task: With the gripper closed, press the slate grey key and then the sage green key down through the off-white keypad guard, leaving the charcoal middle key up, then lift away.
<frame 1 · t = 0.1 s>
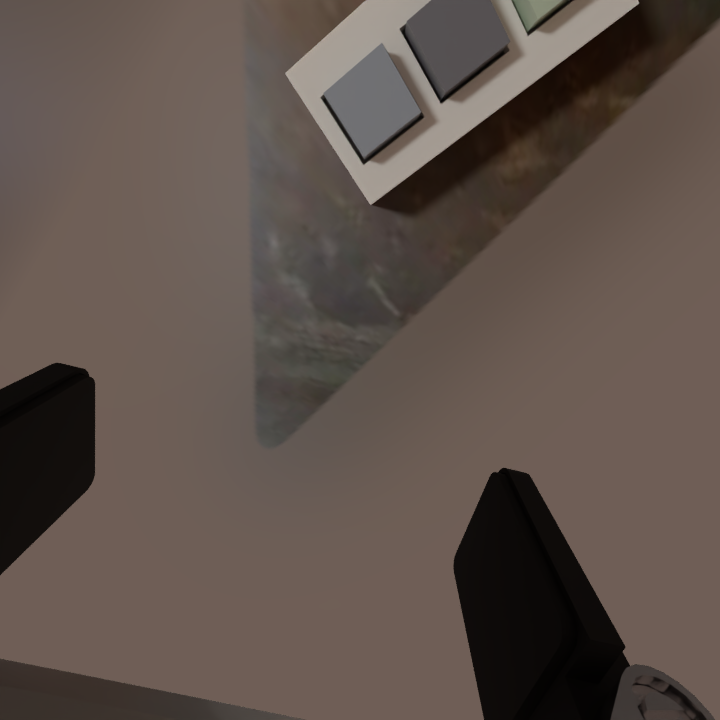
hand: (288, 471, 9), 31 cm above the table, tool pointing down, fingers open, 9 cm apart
keypad: (445, 58, 32), on the table
slate key: (372, 107, 30), point 4 cm above the table, slide at 0.0 cm
charcoal key: (454, 39, 28), point 4 cm above the table, slide at 0.0 cm
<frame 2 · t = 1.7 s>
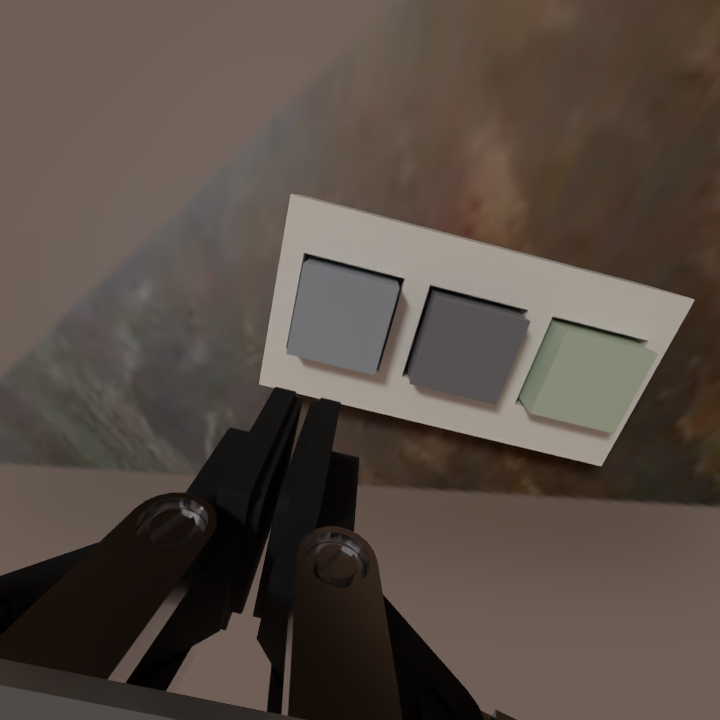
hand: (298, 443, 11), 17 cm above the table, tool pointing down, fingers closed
keypad: (451, 325, 27), on the table
slate key: (343, 314, 23), point 4 cm above the table, slide at 0.0 cm
sage key: (578, 373, 23), point 4 cm above the table, slide at 0.0 cm
charcoal key: (462, 344, 23), point 4 cm above the table, slide at 0.0 cm
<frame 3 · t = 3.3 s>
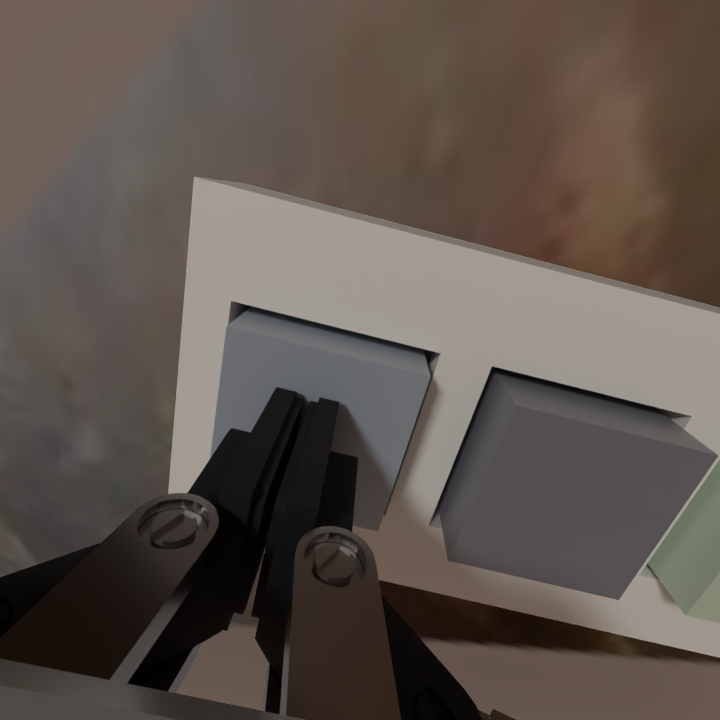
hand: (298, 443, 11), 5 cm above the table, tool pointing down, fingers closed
keypad: (509, 409, 15), on the table
slate key: (318, 410, 12), point 4 cm above the table, slide at 0.5 cm, touching gripper
charcoal key: (549, 475, 12), point 4 cm above the table, slide at 0.0 cm
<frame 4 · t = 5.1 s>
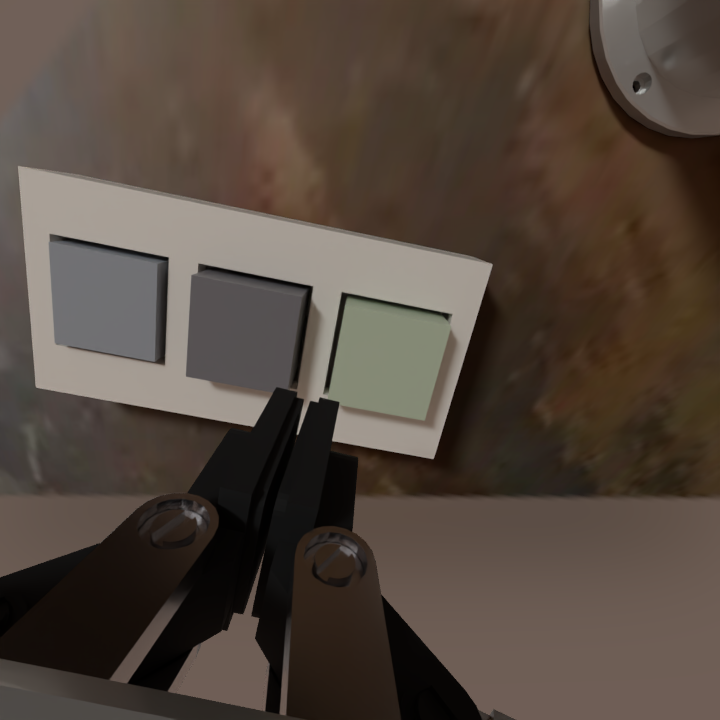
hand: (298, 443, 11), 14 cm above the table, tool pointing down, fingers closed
keypad: (268, 312, 24), on the table
slate key: (121, 298, 21), point 3 cm above the table, slide at 1.0 cm
sage key: (385, 355, 21), point 4 cm above the table, slide at 0.0 cm
charcoal key: (250, 329, 20), point 4 cm above the table, slide at 0.0 cm
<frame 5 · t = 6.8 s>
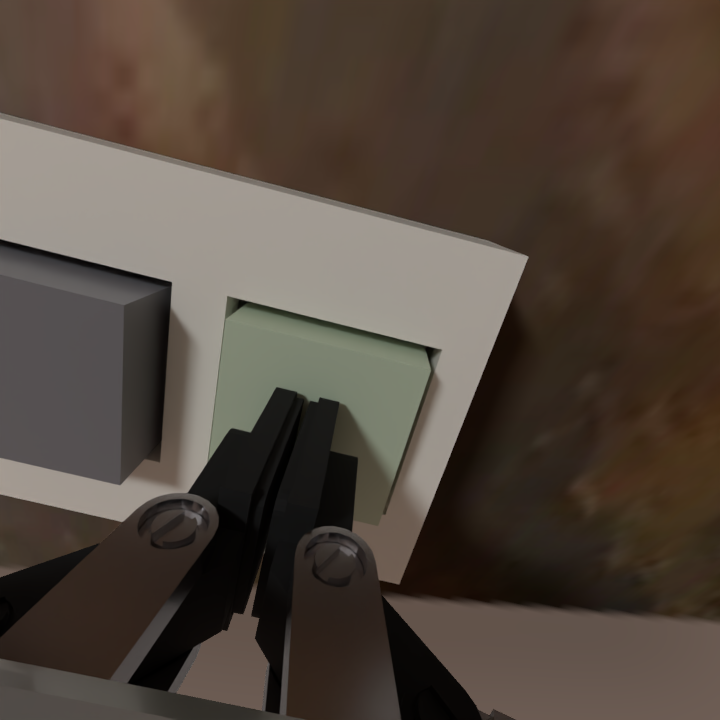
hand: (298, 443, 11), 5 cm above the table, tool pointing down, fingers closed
keypad: (144, 316, 15), on the table
sage key: (318, 405, 12), point 3 cm above the table, slide at 0.7 cm, touching gripper
charcoal key: (63, 356, 11), point 4 cm above the table, slide at 0.0 cm
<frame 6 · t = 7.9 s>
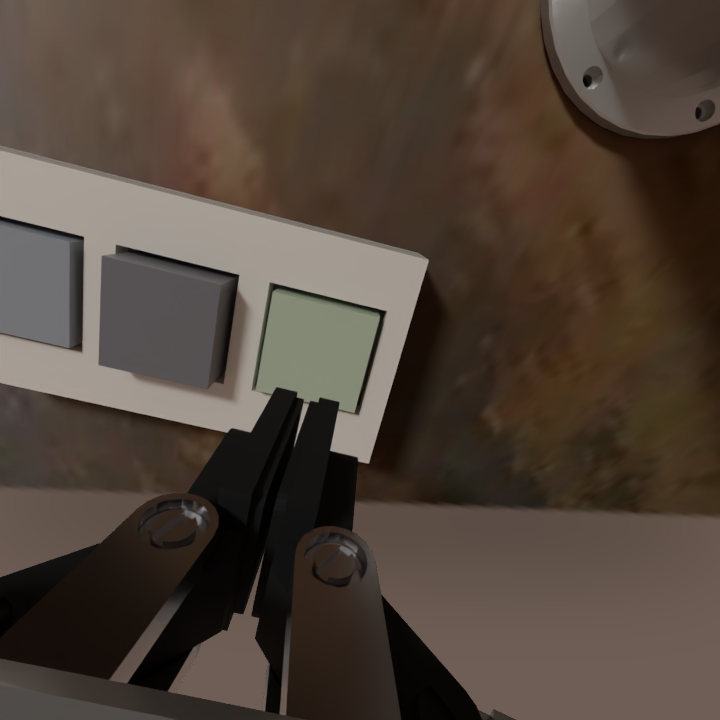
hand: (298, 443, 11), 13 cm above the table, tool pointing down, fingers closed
keypad: (204, 301, 23), on the table
slate key: (38, 279, 20), point 3 cm above the table, slide at 1.0 cm
sage key: (319, 346, 21), point 3 cm above the table, slide at 1.0 cm
charcoal key: (172, 318, 19), point 4 cm above the table, slide at 0.0 cm
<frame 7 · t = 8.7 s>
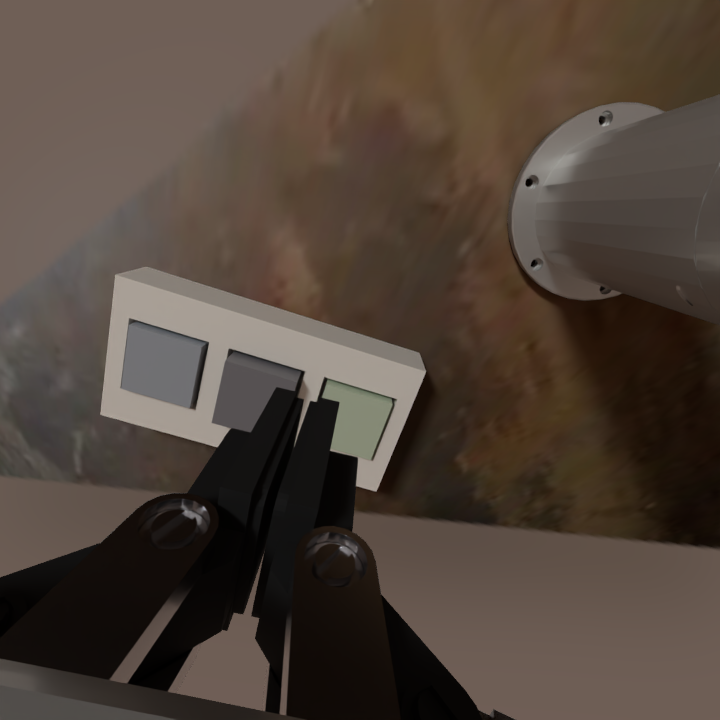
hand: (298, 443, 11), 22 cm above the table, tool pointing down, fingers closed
keypad: (270, 373, 33), on the table
slate key: (170, 360, 30), point 3 cm above the table, slide at 1.0 cm
sage key: (350, 414, 31), point 3 cm above the table, slide at 1.0 cm
charcoal key: (258, 393, 30), point 4 cm above the table, slide at 0.0 cm
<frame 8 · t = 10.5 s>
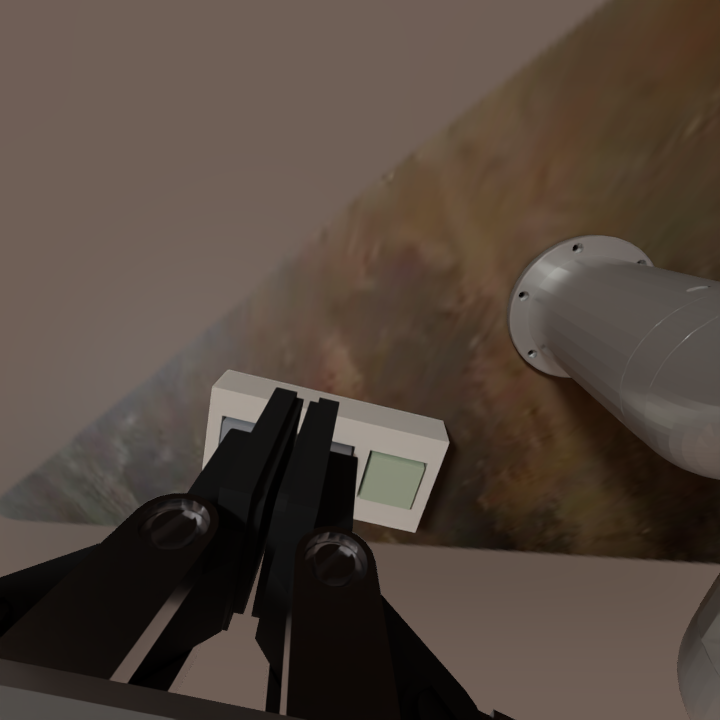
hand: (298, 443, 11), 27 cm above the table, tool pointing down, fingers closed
keypad: (325, 441, 42), on the table
slate key: (251, 441, 39), point 3 cm above the table, slide at 1.0 cm
sage key: (391, 474, 40), point 3 cm above the table, slide at 1.0 cm
charcoal key: (320, 464, 38), point 4 cm above the table, slide at 0.0 cm
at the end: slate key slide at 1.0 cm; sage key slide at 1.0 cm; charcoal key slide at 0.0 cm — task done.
